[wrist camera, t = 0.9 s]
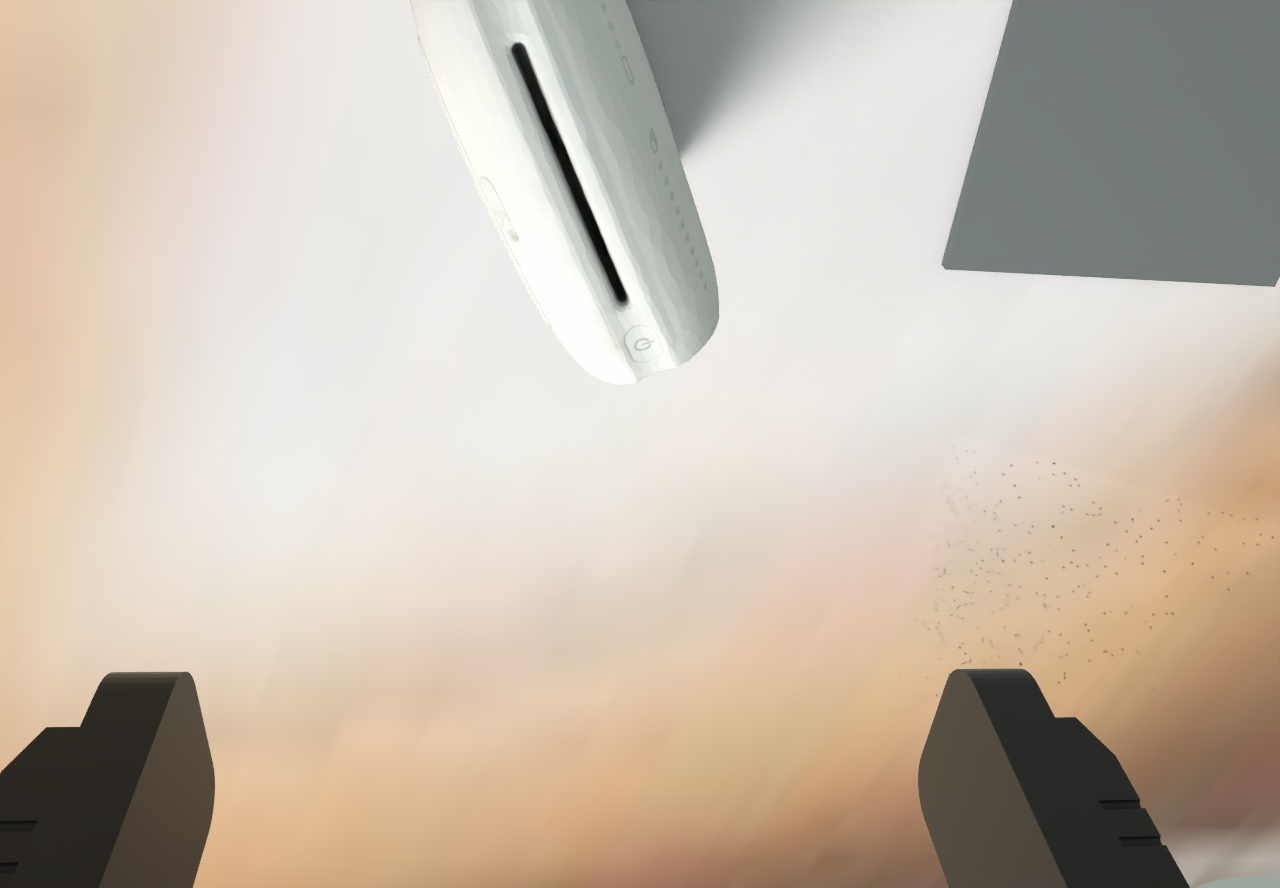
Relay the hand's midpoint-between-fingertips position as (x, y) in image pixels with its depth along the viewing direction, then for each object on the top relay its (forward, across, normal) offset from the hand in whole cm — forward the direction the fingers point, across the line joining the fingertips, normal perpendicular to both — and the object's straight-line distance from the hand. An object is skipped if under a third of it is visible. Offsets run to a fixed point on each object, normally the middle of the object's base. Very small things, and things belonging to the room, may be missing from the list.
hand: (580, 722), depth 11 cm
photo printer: (+24, 0, -1) cm, 25 cm away
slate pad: (+24, -19, 0) cm, 31 cm away
